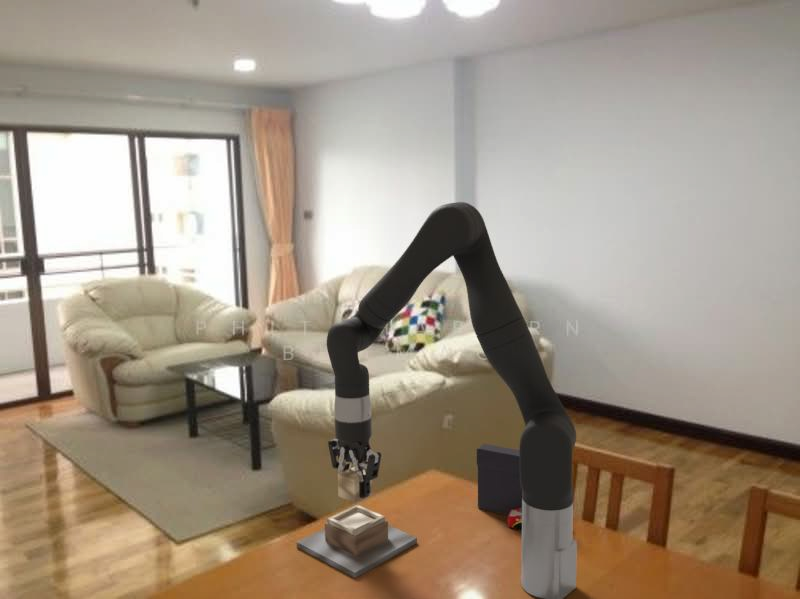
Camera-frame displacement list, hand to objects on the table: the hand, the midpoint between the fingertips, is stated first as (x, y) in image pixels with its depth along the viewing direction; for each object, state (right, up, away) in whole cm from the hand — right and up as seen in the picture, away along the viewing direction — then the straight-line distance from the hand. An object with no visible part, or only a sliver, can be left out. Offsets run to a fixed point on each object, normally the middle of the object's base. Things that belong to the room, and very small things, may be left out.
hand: (355, 492), depth 145 cm
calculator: (+33, -9, +16) cm, 38 cm away
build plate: (0, -12, +2) cm, 12 cm away
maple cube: (0, -1, 0) cm, 1 cm away
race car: (+40, -10, +8) cm, 42 cm away
